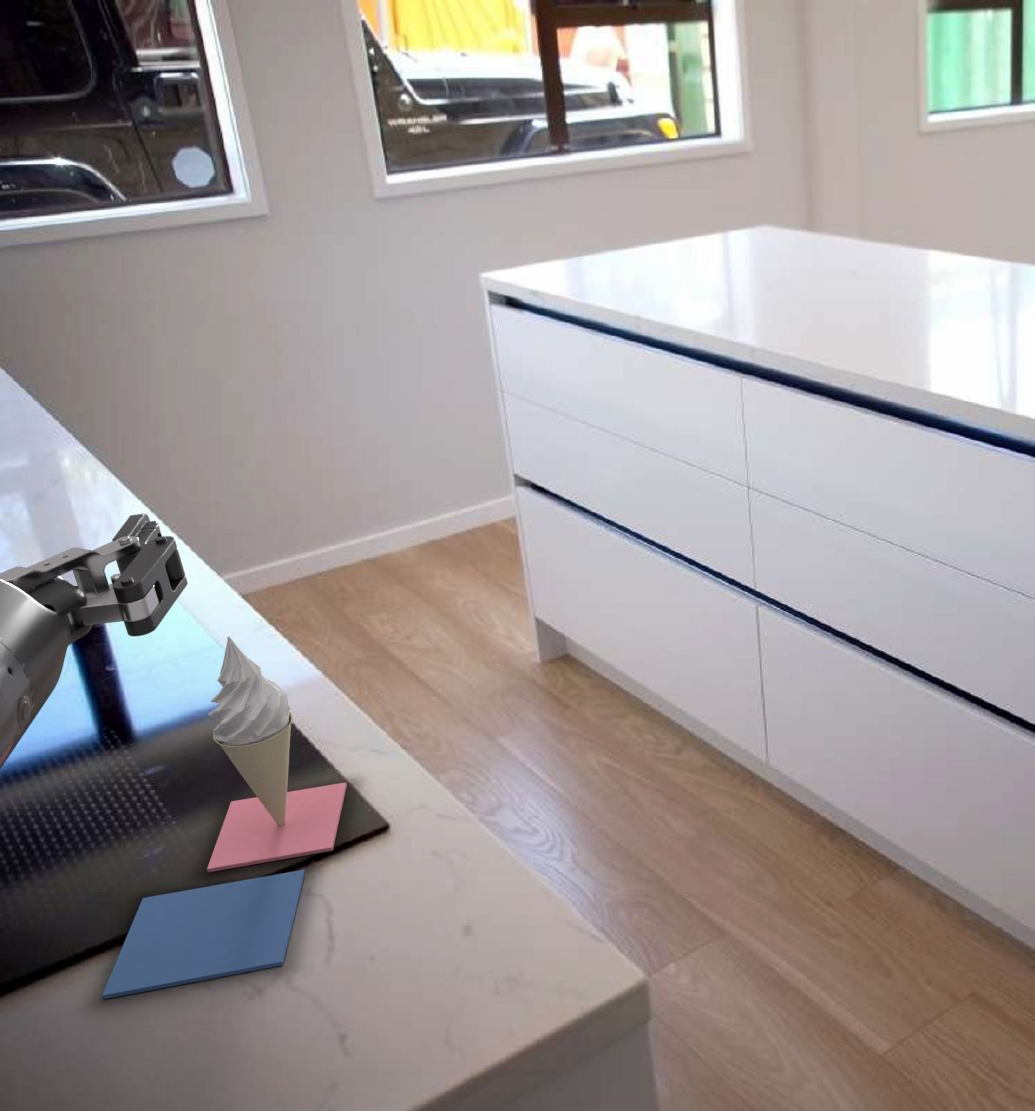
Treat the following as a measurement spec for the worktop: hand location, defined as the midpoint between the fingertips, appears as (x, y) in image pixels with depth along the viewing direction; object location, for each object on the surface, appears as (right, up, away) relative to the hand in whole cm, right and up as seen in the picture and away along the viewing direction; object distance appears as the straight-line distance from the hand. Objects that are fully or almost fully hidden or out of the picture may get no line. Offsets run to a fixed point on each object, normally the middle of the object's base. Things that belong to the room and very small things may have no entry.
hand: (56, 542), depth 65 cm
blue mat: (+1, -24, +14) cm, 28 cm away
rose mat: (+1, -20, +24) cm, 31 cm away
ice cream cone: (+1, -20, +24) cm, 31 cm away
